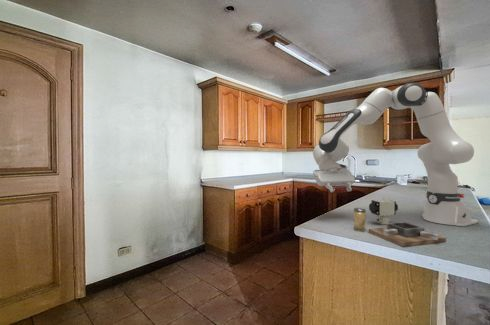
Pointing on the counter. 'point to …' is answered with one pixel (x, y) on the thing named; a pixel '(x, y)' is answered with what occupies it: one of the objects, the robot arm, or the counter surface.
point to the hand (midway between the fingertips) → (341, 191)
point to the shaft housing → (406, 234)
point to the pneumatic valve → (383, 209)
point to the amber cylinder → (359, 219)
